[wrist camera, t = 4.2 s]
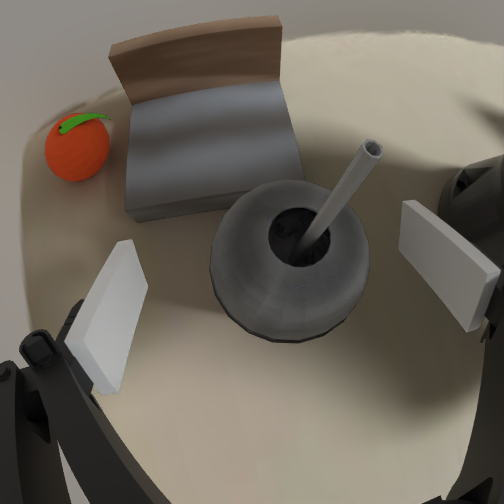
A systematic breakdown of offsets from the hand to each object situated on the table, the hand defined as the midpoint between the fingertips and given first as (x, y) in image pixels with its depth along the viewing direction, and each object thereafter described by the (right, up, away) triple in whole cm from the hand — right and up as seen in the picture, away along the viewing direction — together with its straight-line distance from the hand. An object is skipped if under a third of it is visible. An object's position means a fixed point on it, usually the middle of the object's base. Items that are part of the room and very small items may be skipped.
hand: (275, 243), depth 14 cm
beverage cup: (+1, -4, +11) cm, 12 cm away
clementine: (-18, +9, +15) cm, 25 cm away
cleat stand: (-5, +9, +14) cm, 18 cm away
